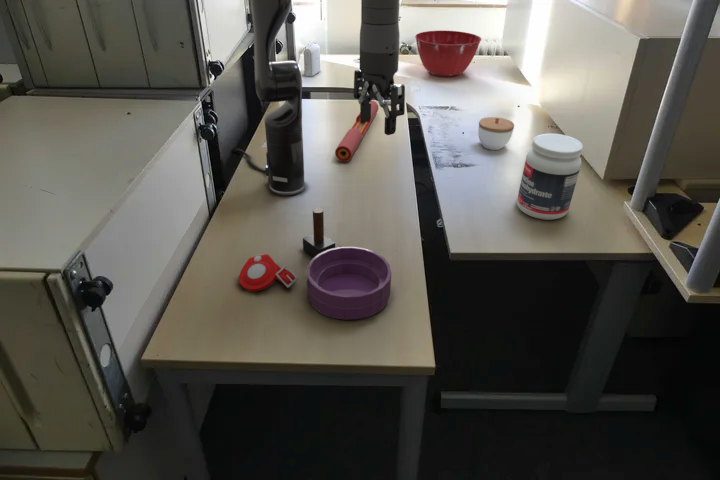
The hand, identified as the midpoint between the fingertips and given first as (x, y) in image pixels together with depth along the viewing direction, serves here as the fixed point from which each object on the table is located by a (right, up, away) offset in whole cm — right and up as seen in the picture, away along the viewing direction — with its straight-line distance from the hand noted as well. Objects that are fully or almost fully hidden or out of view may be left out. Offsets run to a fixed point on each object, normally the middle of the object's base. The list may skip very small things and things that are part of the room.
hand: (377, 127), depth 110 cm
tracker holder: (-22, -32, -2) cm, 39 cm away
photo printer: (-24, +49, +122) cm, 134 cm away
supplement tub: (+43, -16, +26) cm, 52 cm away
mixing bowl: (+34, +52, +127) cm, 142 cm away
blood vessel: (-4, +11, +64) cm, 65 cm away
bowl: (-6, -34, -4) cm, 35 cm away
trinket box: (+39, +6, +59) cm, 71 cm away
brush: (-13, -26, +7) cm, 30 cm away
